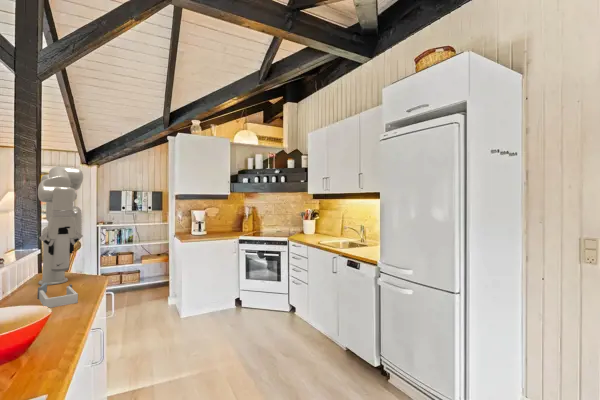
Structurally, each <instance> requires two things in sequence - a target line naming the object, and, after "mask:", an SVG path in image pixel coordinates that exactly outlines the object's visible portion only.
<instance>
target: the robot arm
mask: <svg viewBox="0 0 600 400" xmlns="http://www.w3.org/2000/svg"><path fill="white" fill-rule="evenodd" d="M83 180H84V174H83V171H82V170H81V169H80V168H78V167H71V166H70V167H66V166H55V167H52V168H51V169H49V171H48V174H44V175H42V176H41V178H40V182H39V184H38V189H37V197H38V200H39V201H40V202H42V203H46V204H45V205H46V206H45V207H46V208H45V213H46V214H45V219H46V221H47V226H45V227H44V228H43V229H42V231H41V236H39V237H38V239H39V240H40V241H42V244H43V246H42V247H43V248H42V249H43V257H42V259H43V261H42V278H41V279H40V280H39V281H38V285H41V286H42V285H43V284H44V283H47V286H53V285H59V284H63V283H66V282H68V281H69V279H68V277H65V273H66V271H60V272H54V271H51V270H52V255H53V242H54V241H55V239H56V238H57V236H58V235H57V234H58V233H59V232H58V229H59V228H63V227H70V228H67V229H68V234H69V239H70V254H73V252H74V250H75V244H77V242H79V241H81V239H82V238H83V237H84V235H83V234H82V232H83V231H82V230H83V227H82V226H83V224H82V223H83V219H82V218H83V216H82V214H83V213H82V209H81V208H80V207H78V206H74V203H75V201H76V200H77V197H78V192H77V191H78V190H79V189H80V188H81V186H82V183H83Z"/></svg>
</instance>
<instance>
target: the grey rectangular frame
mask: <svg viewBox="0 0 600 400" xmlns="http://www.w3.org/2000/svg"><path fill="white" fill-rule="evenodd" d="M38 300H39V302H40V304H41V305H42V306H43V307H44V306H47V307H50V308H49V309H51V308H57V307H61V306H68V305H73V304H78V302H79V293H78V292H76V291H75V290H74V289H73V283H70V284H69V285H68V286H66V294H65V295H59V296H53V297H49V296H48V295H47V294H46V293H44V291H43V290H40V291H39V299H38Z"/></svg>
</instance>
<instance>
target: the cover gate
mask: <svg viewBox="0 0 600 400" xmlns="http://www.w3.org/2000/svg"><path fill="white" fill-rule="evenodd" d="M40 290H43V291H44V293H45V294H46V293H47V292H48V285H47V283H44V284H43V285H41V286H39V287H38V286H37V293H36V294H37V295H36V298H37V300H39V291H40Z"/></svg>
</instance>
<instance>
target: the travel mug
mask: <svg viewBox="0 0 600 400" xmlns="http://www.w3.org/2000/svg"><path fill="white" fill-rule="evenodd" d="M67 228H70V227H63V228H59V229H58V232H59V233H58V234H57V235H58V236H57V238H56V239H55V241H54V242H53V255H52V270H51V271H54V272H60V271H65V272H66V271H68V270H69V269H70V254H71V253H70V239H69V234H68V229H67Z"/></svg>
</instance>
